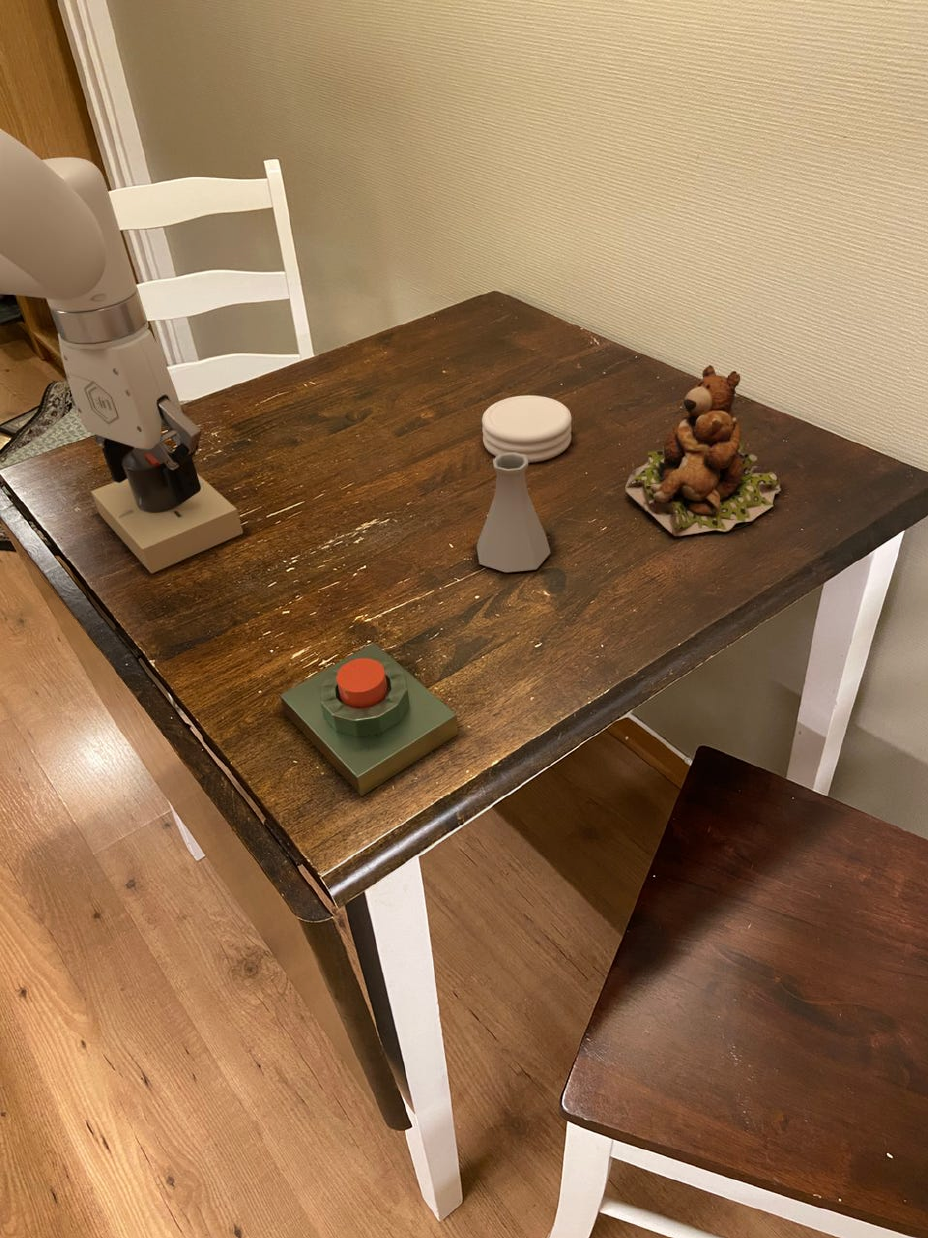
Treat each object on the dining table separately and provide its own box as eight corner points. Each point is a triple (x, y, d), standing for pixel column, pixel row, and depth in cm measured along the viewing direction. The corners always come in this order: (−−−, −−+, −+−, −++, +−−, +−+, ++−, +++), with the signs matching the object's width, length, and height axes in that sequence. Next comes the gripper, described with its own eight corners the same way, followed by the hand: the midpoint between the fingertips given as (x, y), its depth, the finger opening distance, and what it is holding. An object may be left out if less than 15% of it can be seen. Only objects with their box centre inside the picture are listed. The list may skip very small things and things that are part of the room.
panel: (99, 514, 94) (90, 489, 92) (186, 480, 99) (178, 455, 96) (151, 574, 85) (141, 547, 83) (243, 533, 90) (236, 507, 88)
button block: (284, 714, 70) (274, 678, 67) (377, 661, 74) (371, 625, 71) (361, 797, 63) (353, 760, 61) (459, 734, 67) (455, 697, 65)
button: (330, 690, 67) (327, 673, 65) (370, 667, 68) (367, 651, 67) (357, 716, 64) (353, 699, 63) (397, 692, 66) (394, 675, 65)
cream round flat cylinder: (465, 441, 101) (463, 413, 99) (531, 412, 106) (531, 385, 103) (521, 474, 95) (520, 446, 93) (589, 443, 99) (590, 414, 97)
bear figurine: (597, 491, 92) (602, 382, 84) (704, 446, 97) (718, 339, 89) (690, 554, 83) (705, 438, 75) (802, 499, 88) (827, 386, 80)
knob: (129, 498, 90) (112, 453, 87) (174, 480, 93) (160, 435, 89) (148, 518, 87) (131, 472, 84) (194, 499, 90) (180, 453, 86)
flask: (468, 571, 83) (461, 479, 76) (484, 527, 88) (479, 438, 81) (544, 578, 81) (543, 485, 75) (556, 533, 86) (557, 442, 80)
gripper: (3, 316, 79) (71, 483, 90) (135, 350, 72) (192, 528, 83) (70, 288, 84) (127, 450, 95) (201, 316, 76) (246, 489, 88)
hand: (157, 485), depth 89 cm, fingers open, 8 cm apart
